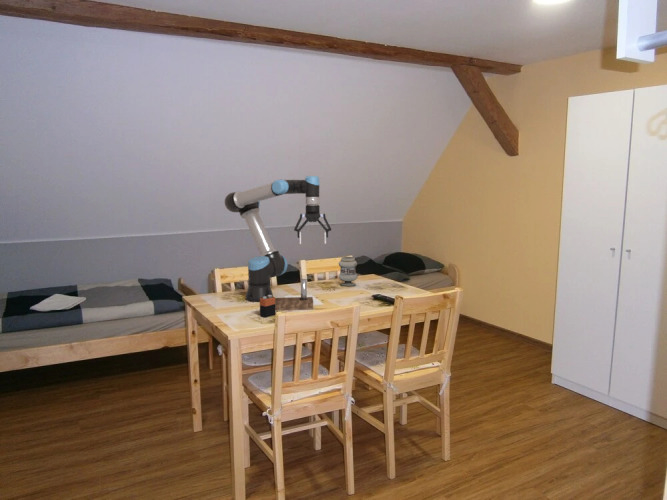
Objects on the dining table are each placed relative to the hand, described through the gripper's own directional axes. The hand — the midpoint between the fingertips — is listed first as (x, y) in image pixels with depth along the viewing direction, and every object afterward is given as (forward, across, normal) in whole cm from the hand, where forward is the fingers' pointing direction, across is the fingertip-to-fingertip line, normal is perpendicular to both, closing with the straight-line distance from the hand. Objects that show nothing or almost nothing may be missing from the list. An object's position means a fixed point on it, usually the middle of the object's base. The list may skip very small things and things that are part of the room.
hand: (312, 243), depth 271 cm
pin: (+31, -6, -16) cm, 35 cm away
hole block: (+32, -13, -16) cm, 38 cm away
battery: (+32, -24, -30) cm, 50 cm away
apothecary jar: (+32, +24, +38) cm, 55 cm away
